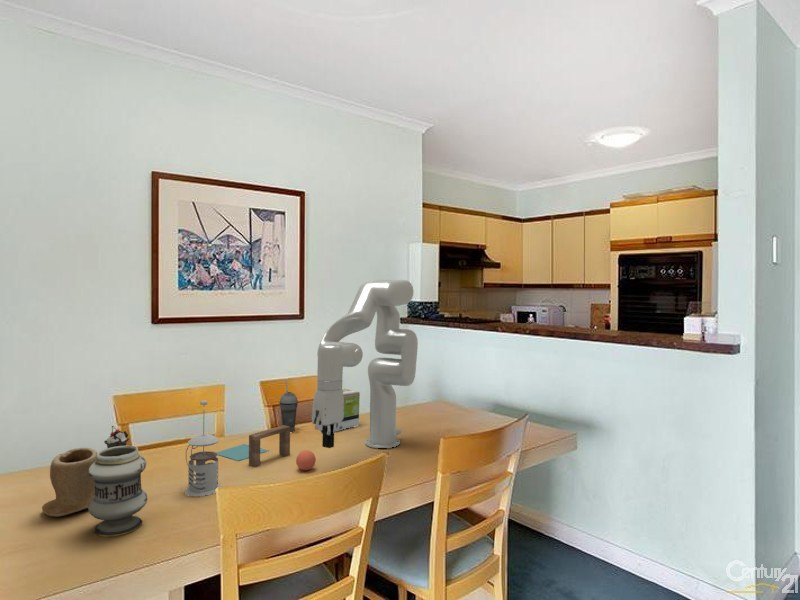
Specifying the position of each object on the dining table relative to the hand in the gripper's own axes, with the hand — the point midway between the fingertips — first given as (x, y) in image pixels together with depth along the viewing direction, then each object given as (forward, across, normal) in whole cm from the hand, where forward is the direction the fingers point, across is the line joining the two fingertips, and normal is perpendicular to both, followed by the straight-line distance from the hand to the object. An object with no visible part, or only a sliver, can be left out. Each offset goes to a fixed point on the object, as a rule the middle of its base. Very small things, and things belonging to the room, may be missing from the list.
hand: (328, 446), depth 152 cm
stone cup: (+11, +52, -37) cm, 65 cm away
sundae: (+10, +34, -54) cm, 64 cm away
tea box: (+8, -45, -34) cm, 57 cm away
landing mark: (+9, -1, -40) cm, 41 cm away
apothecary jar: (+11, +52, -19) cm, 56 cm away
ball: (+6, -1, -10) cm, 11 cm away
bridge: (+9, -1, -26) cm, 27 cm away
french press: (+10, +27, -23) cm, 37 cm away
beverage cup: (+8, -29, -46) cm, 55 cm away
